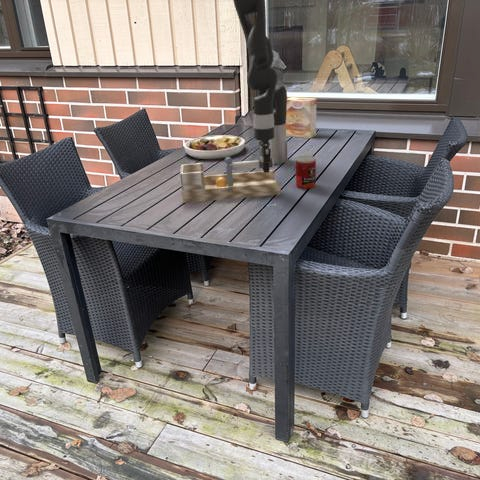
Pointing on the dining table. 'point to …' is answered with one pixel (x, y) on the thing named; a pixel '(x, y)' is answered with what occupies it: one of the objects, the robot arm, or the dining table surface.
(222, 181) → the ball
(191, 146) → the bowl
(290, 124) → the coffeecake box
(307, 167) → the canned food
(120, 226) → the dining table surface
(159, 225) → the dining table surface
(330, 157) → the dining table surface
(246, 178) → the game board
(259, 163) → the rod
